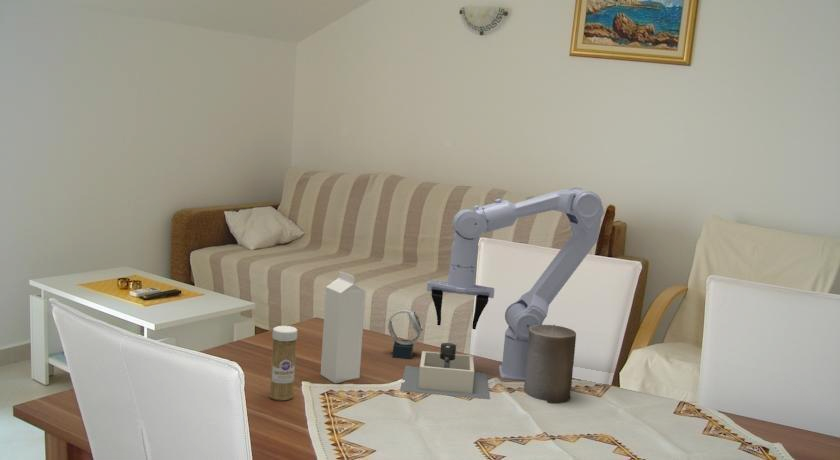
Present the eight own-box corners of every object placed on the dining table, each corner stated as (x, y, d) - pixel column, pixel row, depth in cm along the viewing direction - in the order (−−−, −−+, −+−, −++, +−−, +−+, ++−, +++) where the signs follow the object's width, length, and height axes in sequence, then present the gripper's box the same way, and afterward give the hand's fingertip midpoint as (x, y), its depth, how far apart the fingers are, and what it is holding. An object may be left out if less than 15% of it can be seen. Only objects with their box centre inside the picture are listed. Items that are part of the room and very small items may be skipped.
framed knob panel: (471, 375, 160) (472, 355, 159) (472, 393, 149) (474, 371, 148) (420, 370, 160) (422, 350, 159) (418, 388, 149) (419, 366, 148)
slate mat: (486, 374, 162) (486, 373, 162) (490, 401, 146) (490, 399, 146) (405, 367, 163) (405, 365, 163) (399, 392, 147) (399, 390, 147)
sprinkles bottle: (275, 402, 136) (279, 332, 135) (265, 394, 140) (268, 326, 138) (297, 399, 139) (301, 330, 137) (286, 391, 143) (290, 323, 141)
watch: (419, 361, 168) (423, 314, 166) (384, 358, 168) (388, 311, 167) (421, 354, 173) (424, 309, 172) (387, 351, 174) (390, 305, 172)
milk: (334, 384, 149) (341, 277, 146) (320, 374, 154) (326, 271, 151) (360, 379, 153) (367, 275, 150) (345, 370, 157) (351, 269, 154)
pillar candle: (576, 394, 154) (583, 324, 153) (560, 406, 146) (567, 333, 144) (533, 383, 159) (539, 315, 157) (515, 395, 151) (521, 324, 149)
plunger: (465, 373, 158) (468, 341, 157) (466, 386, 150) (469, 353, 149) (426, 369, 159) (428, 337, 158) (424, 382, 150) (427, 349, 149)
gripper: (429, 264, 155) (422, 327, 157) (497, 272, 155) (490, 334, 157) (430, 259, 162) (424, 319, 164) (495, 266, 162) (488, 326, 164)
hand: (456, 326), depth 161 cm, fingers open, 7 cm apart
